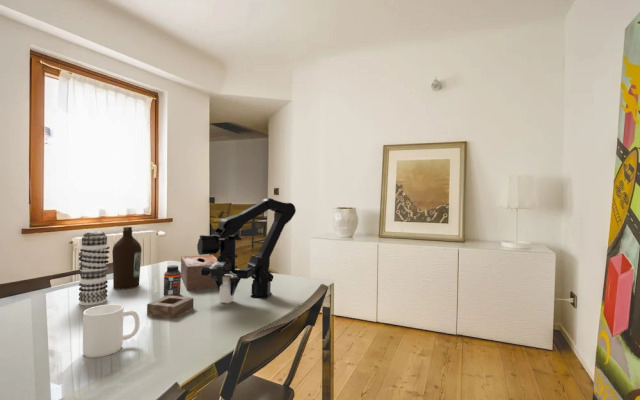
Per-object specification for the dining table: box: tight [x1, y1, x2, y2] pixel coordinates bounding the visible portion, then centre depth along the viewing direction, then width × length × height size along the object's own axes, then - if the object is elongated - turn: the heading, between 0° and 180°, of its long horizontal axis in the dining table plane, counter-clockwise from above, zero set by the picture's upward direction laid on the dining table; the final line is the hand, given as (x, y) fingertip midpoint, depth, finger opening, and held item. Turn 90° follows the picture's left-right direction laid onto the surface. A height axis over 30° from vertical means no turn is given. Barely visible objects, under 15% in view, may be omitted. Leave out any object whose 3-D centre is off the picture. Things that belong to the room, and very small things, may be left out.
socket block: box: [146, 295, 194, 319], centre depth 110 cm, size 10×10×4 cm
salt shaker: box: [218, 274, 235, 304], centre depth 122 cm, size 4×4×10 cm
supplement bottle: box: [163, 264, 182, 297], centre depth 128 cm, size 6×6×11 cm
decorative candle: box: [78, 230, 110, 306], centre depth 119 cm, size 9×9×25 cm
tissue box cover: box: [180, 254, 218, 291], centre depth 150 cm, size 26×14×10 cm, turn 28°
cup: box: [82, 303, 141, 359], centre depth 83 cm, size 8×12×10 cm
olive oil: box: [112, 226, 142, 290], centre depth 139 cm, size 11×11×25 cm
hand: (226, 295), depth 122 cm, fingers closed on salt shaker, 4 cm apart
